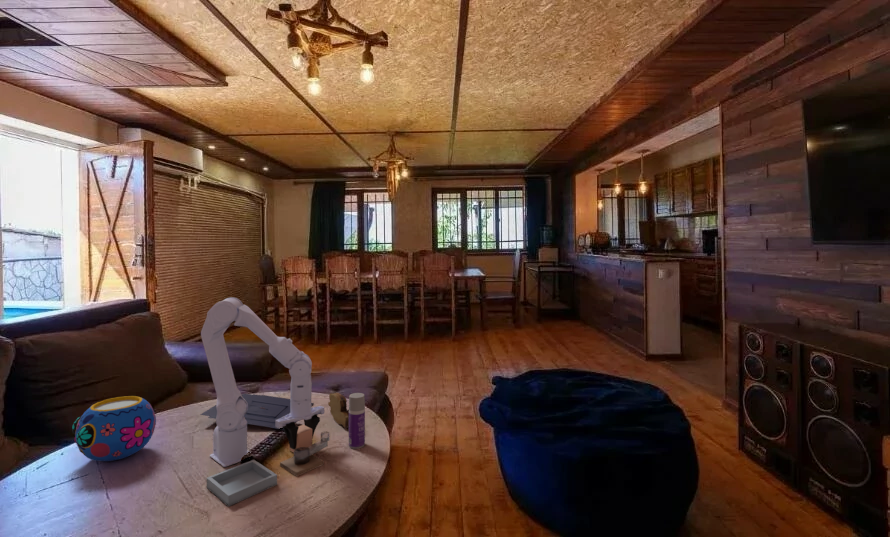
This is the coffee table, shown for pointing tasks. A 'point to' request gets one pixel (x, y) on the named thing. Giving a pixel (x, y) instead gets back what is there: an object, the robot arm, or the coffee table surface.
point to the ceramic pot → (114, 428)
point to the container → (356, 420)
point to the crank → (310, 449)
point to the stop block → (303, 437)
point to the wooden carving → (339, 409)
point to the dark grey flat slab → (260, 409)
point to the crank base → (301, 465)
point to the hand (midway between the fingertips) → (300, 444)
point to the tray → (241, 482)
